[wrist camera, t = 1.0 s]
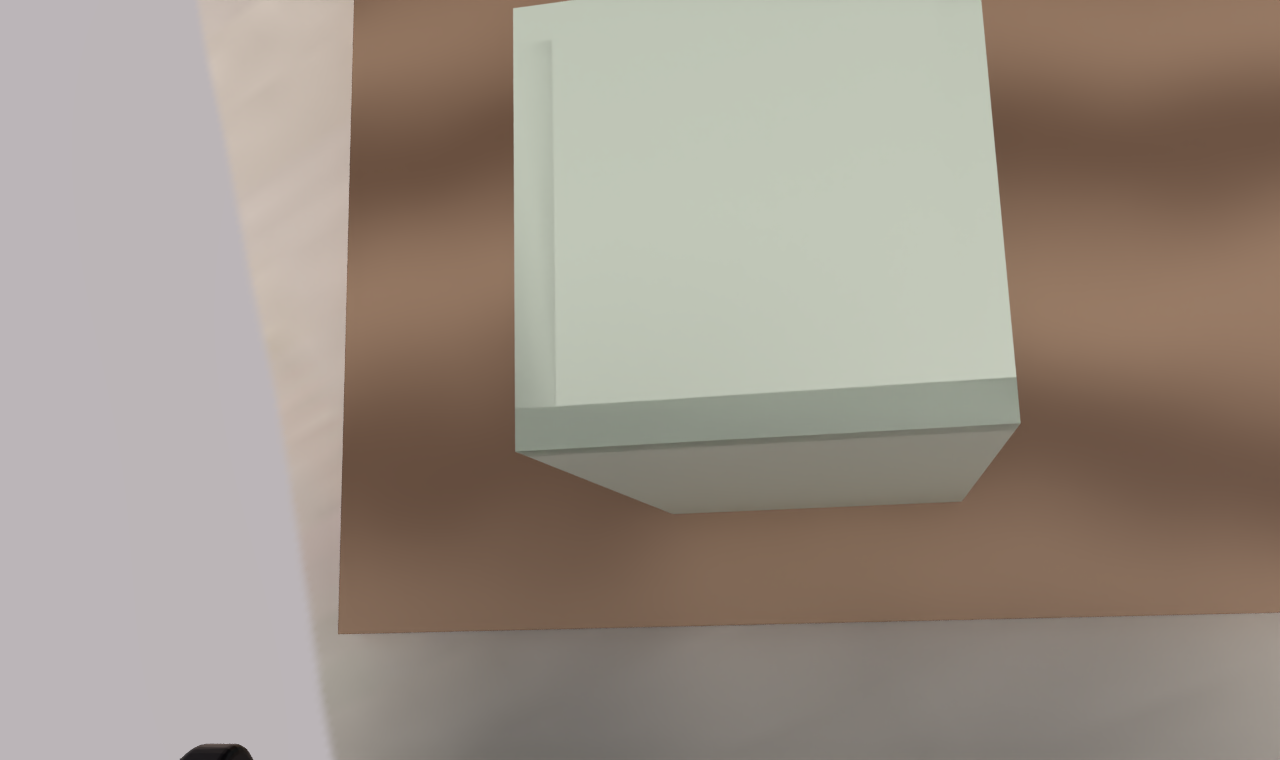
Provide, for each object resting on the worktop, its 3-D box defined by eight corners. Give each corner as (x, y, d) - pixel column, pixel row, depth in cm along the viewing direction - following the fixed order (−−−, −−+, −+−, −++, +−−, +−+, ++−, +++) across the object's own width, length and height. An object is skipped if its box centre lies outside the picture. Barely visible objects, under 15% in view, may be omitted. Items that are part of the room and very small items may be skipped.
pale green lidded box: (961, 501, 22) (1020, 423, 12) (672, 514, 23) (515, 450, 13) (938, 221, 23) (975, -56, 13) (664, 246, 24) (512, 8, 14)
